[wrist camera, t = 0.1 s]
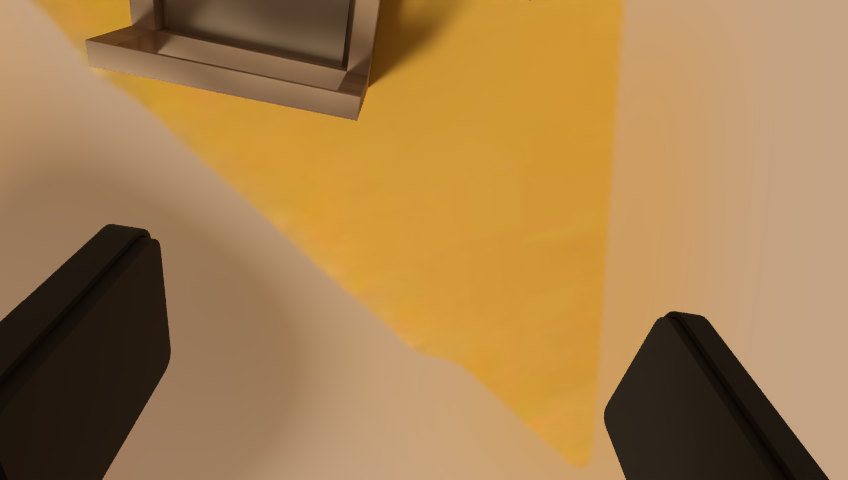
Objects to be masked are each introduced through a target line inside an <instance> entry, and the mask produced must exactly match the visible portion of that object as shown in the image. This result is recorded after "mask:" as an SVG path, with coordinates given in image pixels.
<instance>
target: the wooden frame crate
mask: <svg viewBox="0 0 848 480" xmlns="http://www.w3.org/2000/svg"><path fill="white" fill-rule="evenodd" d="M380 5H381V0H130V10H131V21H132V26H129V27H126V28H123V29H119V30H116V31H113V32H110V33H106V34H103V35H100V36H96V37H93V38H90V39H87V40H85V41H86V48H87V55H88V63H89V66H90V67H95V68H100V69H105V70H110V71H115V72H120V73H125V74H130V75H135V76H139V77H144V78H149V79H154V80H159V81H164V82H169V83H174V84H179V85H184V86H189V87H194V88H199V89H204V90H208V91H213V92H218V93H223V94H228V95H233V96H238V97H243V98H248V99H253V100H258V101H263V102H268V103H272V104H277V105H282V106H287V107H292V108H297V109H302V110H307V111H312V112H317V113H322V114H327V115H332V116H337V117H341V118H346V119H351V120H356V121H357V119H358V116H359V113H360V110H361V107H362V104H363V101H364V98H365V95H366V92H367V89H368V84H369V77H370V71H371V64H372V57H373V51H374V44H375V38H376V31H377V25H378V18H379V11H380Z"/></svg>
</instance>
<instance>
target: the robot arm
mask: <svg viewBox="0 0 848 480" xmlns="http://www.w3.org/2000/svg"><path fill="white" fill-rule="evenodd" d="M160 249H161V248H160V243H159V242H158V240H156V239H151V237H150V234H149V232H148V231H147V230H145V229H141V228H134V227H128V226H122V225H115V224H108V225H106V226H105V227H103V228H102V229H101V230H100V231H99V232H98V233H97V234H96V235H95V236H94V237H93V238H91V239H90V240H89V241H88V242H87V243H86V244H85V245H84V246H83V247H82V248H81V249H79V250H78V251H77V252H76V253H75V254H74V255H73V256H72V257H71V258H70V259H68V260H67V261H66V262H65V263H64V264H63V265H62V266H61V267H60V268H59V269H58V270H57V271H55V272H54V273H53V274H52V275H51V276H50V277H49V278H48V279H47V280H46V281H45V282H44V283H42V284H41V285H40V286H39V287H38V288H37V289H36V290H35V291H34V292H33V293H31V295H29V296H28V297H27V298H26V299H25V300H24V301H22V302H21V303H20V304H19V305H18V306H17V307H16V308H15V309H14V310H12V311H11V312H10V313H9V314H8V315H7V316H6V317H5V318H4V319H3V320H2V321H1V322H0V480H102V479H103V477H104V475H105V474H106V472H107V470H108V469H109V467H110V465H111V463H112V462H113V460H114V458H115V457H116V455H117V453H118V451H119V450H120V448H121V446H122V444H123V443H124V441H125V439H126V438H127V436H128V434H129V433H130V431H131V429H132V427H133V426H134V424H135V422H136V420H137V419H138V417H139V415H140V414H141V412H142V410H143V409H144V407H145V405H146V403H147V402H148V400H149V398H150V396H151V395H152V393H153V391H154V390H155V388H156V386H157V385H158V383H159V381H160V379H161V378H162V376H163V374H164V373H165V371H166V369H167V366H168V363H169V360H170V354H171V348H170V339H169V328H168V318H167V308H166V298H165V288H164V278H163V268H162V258H161V250H160ZM604 421H605V426H606V429H607V431H608V434H609V436H610V439H611V441H612V444H613V447H614V449H615V452H616V454H617V457H618V459H619V462H620V465H621V467H622V470H623V472H624V475H625V478H626V480H829V479H828V477H827V476H826V475H825V474H824V472H823V471H822V470H821V468H820V467H819V466H818V464H817V463H816V462H815V460H814V459H813V458H812V456H811V455H810V454H809V453H808V451H807V450H806V449H805V447H804V446H803V445H802V443H801V442H800V441H799V439H798V438H797V437H796V435H795V434H794V433H793V432H792V430H791V429H790V428H789V426H788V425H787V424H786V422H785V421H784V420H783V418H782V417H781V416H780V415H779V413H778V412H777V410H776V409H775V408H774V407H773V405H772V404H771V403H770V401H769V400H768V399H767V398H766V396H765V395H764V393H763V392H762V391H761V389H760V388H759V387H758V386H757V384H756V383H755V382H754V380H753V379H752V378H751V376H750V375H749V374H748V373H747V371H746V370H745V369H744V367H743V366H742V364H741V363H740V362H739V361H738V359H737V358H736V357H735V356H734V354H733V353H732V351H731V350H730V349H729V347H728V346H727V345H726V343H725V342H724V341H723V340H722V338H721V337H720V336H719V334H718V333H717V332H716V330H715V329H714V328H713V326H712V325H711V324H710V322H709V321H708V320H707V319H706V318H705V317H703V316H701V315H695V314H688V313H682V312H676V311H673V312H669V313H668V314H666V315H665V316H664V317H660V318H659V319H657V321H656V322H655V324H654V325H653V327H652V329H651V331H650V332H649V334H648V336H647V337H646V339H645V341H644V343H643V344H642V346H641V348H640V349H639V351H638V353H637V354H636V356H635V358H634V359H633V361H632V363H631V365H630V366H629V368H628V370H627V371H626V373H625V375H624V377H623V378H622V380H621V382H620V384H619V385H618V387H617V389H616V390H615V392H614V394H613V395H612V397H611V399H610V400H609V402H608V404H607V406H606V408H605V412H604Z"/></svg>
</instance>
